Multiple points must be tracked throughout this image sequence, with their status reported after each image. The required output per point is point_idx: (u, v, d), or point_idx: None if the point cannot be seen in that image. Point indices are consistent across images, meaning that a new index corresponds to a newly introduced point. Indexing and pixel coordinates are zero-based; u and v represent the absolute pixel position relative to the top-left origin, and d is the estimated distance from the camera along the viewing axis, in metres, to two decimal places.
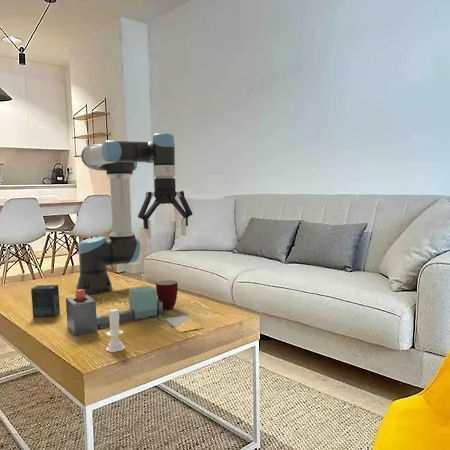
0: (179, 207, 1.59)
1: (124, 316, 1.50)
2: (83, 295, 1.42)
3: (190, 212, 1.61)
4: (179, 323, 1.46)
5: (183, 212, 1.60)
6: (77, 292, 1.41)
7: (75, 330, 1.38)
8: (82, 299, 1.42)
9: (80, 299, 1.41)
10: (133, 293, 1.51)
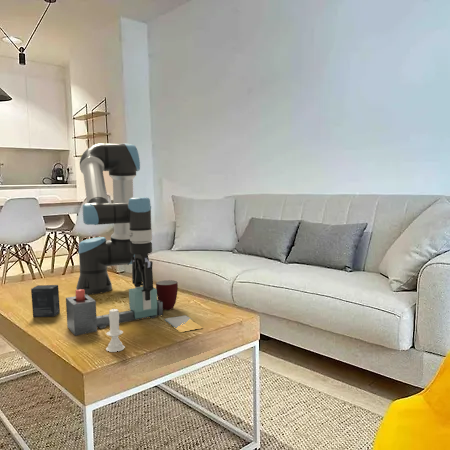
0: (142, 277, 1.51)
1: (124, 316, 1.50)
2: (83, 295, 1.42)
3: (145, 287, 1.48)
4: (179, 323, 1.46)
5: (143, 284, 1.50)
6: (77, 292, 1.41)
7: (75, 330, 1.38)
8: (82, 299, 1.42)
9: (80, 299, 1.41)
10: (133, 293, 1.51)
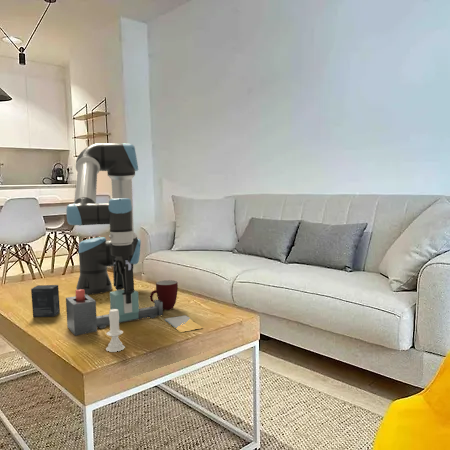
0: (122, 280, 1.47)
1: None
2: (83, 295, 1.42)
3: (126, 290, 1.45)
4: (179, 323, 1.46)
5: (123, 287, 1.47)
6: (77, 292, 1.41)
7: (75, 330, 1.38)
8: (82, 299, 1.42)
9: (80, 299, 1.41)
10: (114, 296, 1.47)
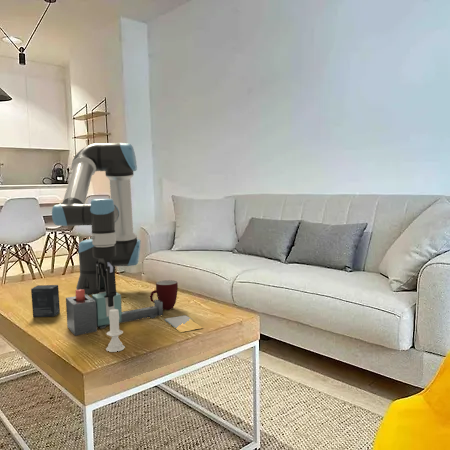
0: (104, 282, 1.44)
1: (124, 316, 1.50)
2: (83, 295, 1.42)
3: (108, 292, 1.41)
4: (179, 323, 1.46)
5: (105, 289, 1.43)
6: (77, 292, 1.41)
7: (75, 330, 1.38)
8: (82, 299, 1.42)
9: (80, 299, 1.41)
10: (95, 299, 1.44)
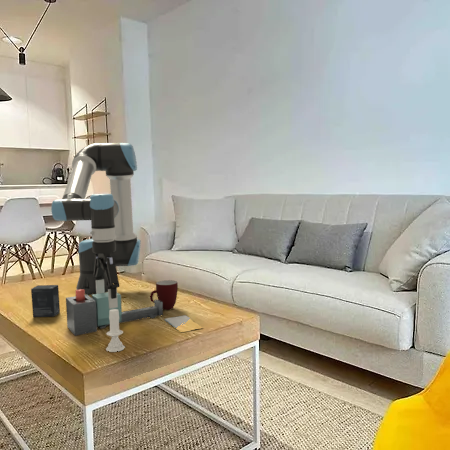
0: (106, 275, 1.42)
1: (124, 316, 1.50)
2: (83, 295, 1.42)
3: (110, 284, 1.38)
4: (179, 323, 1.46)
5: (108, 282, 1.41)
6: (77, 292, 1.41)
7: (75, 330, 1.38)
8: (82, 299, 1.42)
9: (80, 299, 1.41)
10: (95, 299, 1.44)
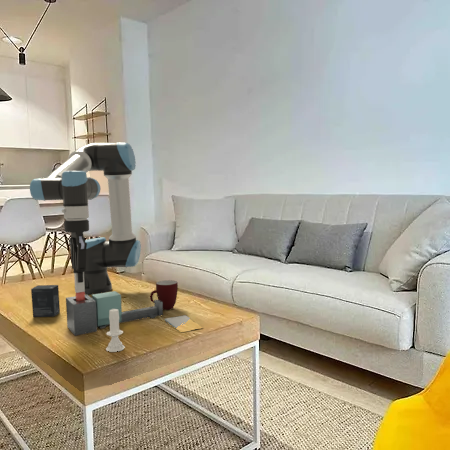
0: (75, 257, 1.40)
1: (124, 316, 1.50)
2: (83, 297, 1.42)
3: (77, 268, 1.38)
4: (179, 323, 1.46)
5: (75, 265, 1.40)
6: (77, 294, 1.41)
7: (75, 330, 1.38)
8: None
9: None
10: (95, 299, 1.44)
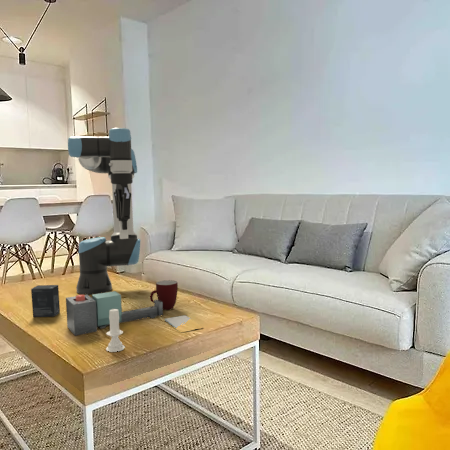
0: (120, 207, 1.55)
1: (124, 316, 1.50)
2: (83, 300, 1.42)
3: (122, 216, 1.54)
4: (179, 323, 1.46)
5: (120, 214, 1.56)
6: (77, 297, 1.41)
7: (75, 330, 1.38)
8: None
9: None
10: (95, 299, 1.44)
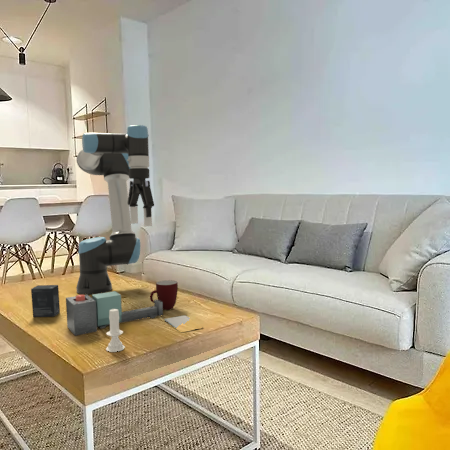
0: (142, 197, 1.59)
1: (124, 316, 1.50)
2: (83, 300, 1.42)
3: (146, 203, 1.56)
4: (179, 323, 1.46)
5: (143, 202, 1.58)
6: (77, 297, 1.41)
7: (75, 330, 1.38)
8: None
9: None
10: (95, 299, 1.44)
